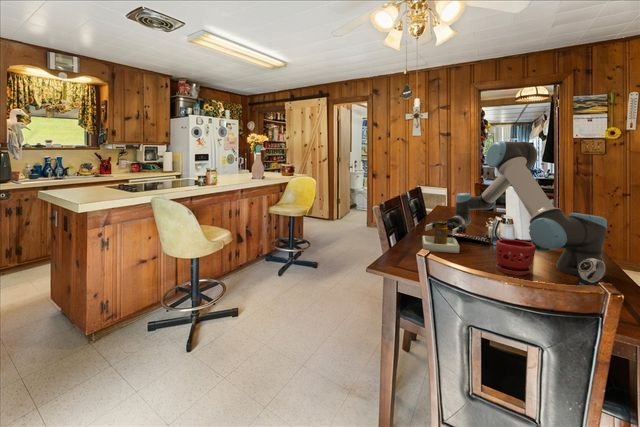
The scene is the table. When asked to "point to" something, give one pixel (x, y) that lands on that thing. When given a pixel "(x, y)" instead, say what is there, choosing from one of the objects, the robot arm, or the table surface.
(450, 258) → the table surface
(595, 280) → the watch
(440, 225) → the condiment
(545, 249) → the canned tomato
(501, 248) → the plant pot
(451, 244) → the pale green square tray
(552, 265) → the table surface
